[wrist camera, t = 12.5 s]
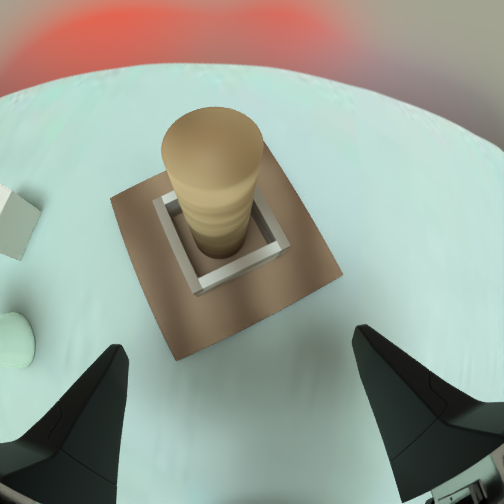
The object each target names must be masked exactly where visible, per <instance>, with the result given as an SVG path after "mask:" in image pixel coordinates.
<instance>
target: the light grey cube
mask: <svg viewBox="0 0 504 504" xmlns="http://www.w3.org/2000/svg"><path fill="white" fill-rule="evenodd" d="M41 213H42V212H41V211H40V210H38V209H37V208H35V207H34V206H33V205H31V204H30V203H28V202H27V201H26V200H24V199H23V198H22V197H20V196H19V195H17V194H16V193H15V192H13V191H12V190H10V189H9V188H7V187H5V186H3V185H1V184H0V253H1V254H4V255H6V256H9V257H11V258H14V259H16V260H19V261H21V259H22V256H23V254H24V251H25V249H26V246H27V244H28V242H29V239H30V237H31V235H32V232H33V230H34V228H35V226H36V224H37V221H38V219H39V217H40V215H41Z"/></svg>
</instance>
